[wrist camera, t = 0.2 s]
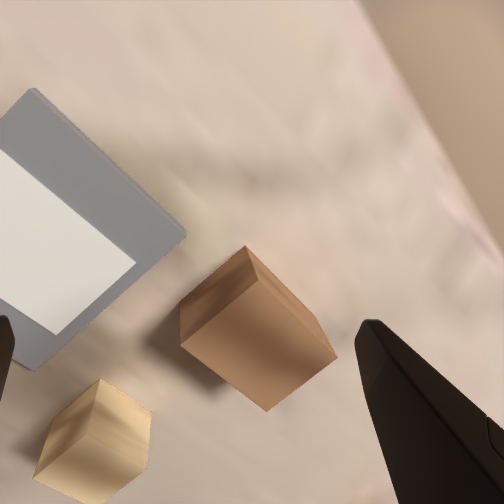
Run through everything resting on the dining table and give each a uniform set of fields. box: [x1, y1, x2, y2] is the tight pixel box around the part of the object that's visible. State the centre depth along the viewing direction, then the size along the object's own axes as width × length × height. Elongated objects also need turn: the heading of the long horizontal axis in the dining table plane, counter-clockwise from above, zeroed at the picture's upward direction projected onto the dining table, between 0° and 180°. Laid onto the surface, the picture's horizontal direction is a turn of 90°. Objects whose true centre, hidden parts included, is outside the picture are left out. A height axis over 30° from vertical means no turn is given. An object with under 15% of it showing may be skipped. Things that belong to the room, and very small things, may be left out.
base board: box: [0, 88, 186, 372], centre depth 24 cm, size 14×11×1 cm
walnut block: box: [180, 246, 338, 412], centre depth 26 cm, size 6×8×5 cm
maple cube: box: [32, 379, 152, 504], centre depth 28 cm, size 5×5×5 cm
